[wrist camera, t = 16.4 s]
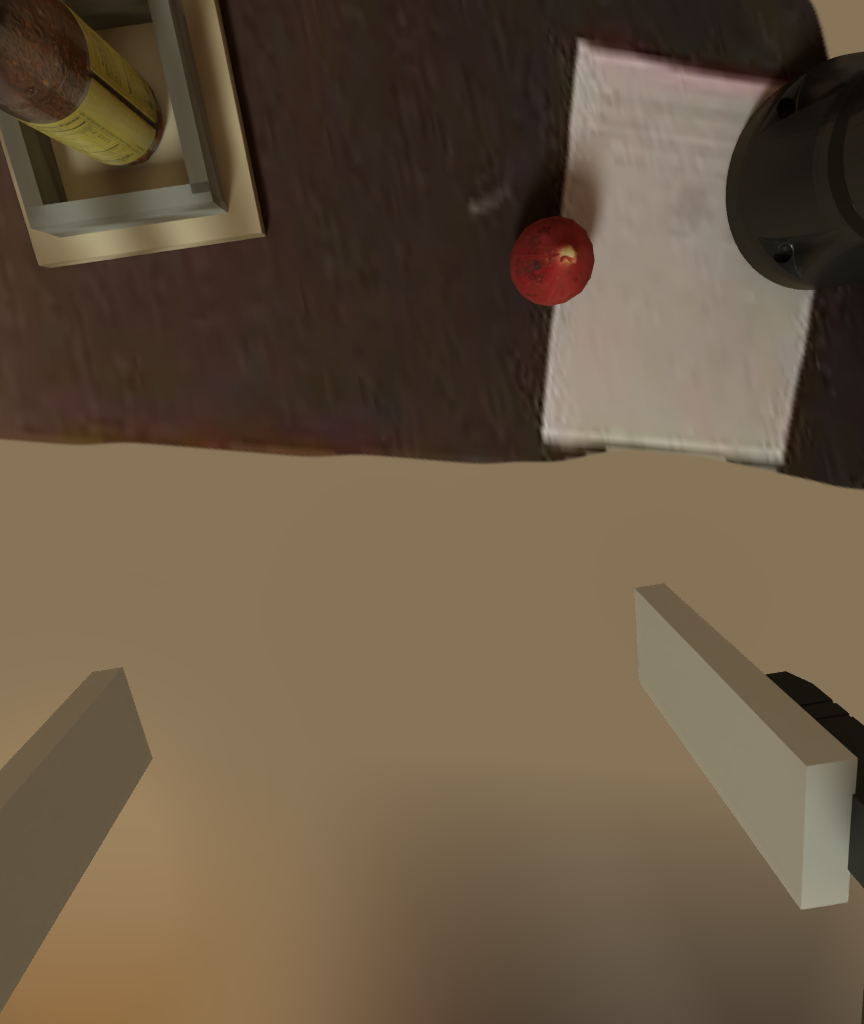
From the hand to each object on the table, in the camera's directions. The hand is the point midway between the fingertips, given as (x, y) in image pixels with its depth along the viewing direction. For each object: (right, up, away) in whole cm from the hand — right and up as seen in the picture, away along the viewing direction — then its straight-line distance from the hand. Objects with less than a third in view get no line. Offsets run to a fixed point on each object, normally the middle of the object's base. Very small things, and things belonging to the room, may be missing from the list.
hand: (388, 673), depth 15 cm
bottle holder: (-20, +31, +26) cm, 45 cm away
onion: (+9, +23, +30) cm, 39 cm away
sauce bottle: (-20, +31, +25) cm, 44 cm away
